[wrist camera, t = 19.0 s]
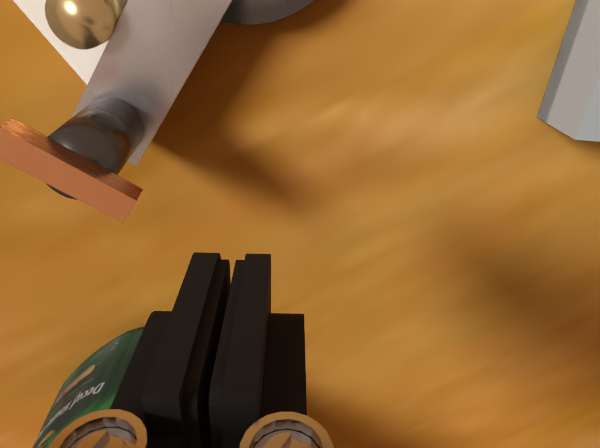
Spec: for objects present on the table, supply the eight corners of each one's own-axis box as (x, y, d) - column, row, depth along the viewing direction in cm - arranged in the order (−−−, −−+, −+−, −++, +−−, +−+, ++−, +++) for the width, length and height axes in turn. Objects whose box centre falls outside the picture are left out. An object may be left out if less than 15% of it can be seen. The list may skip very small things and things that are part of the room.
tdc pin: (128, -18, 17) (105, -15, 15) (132, 39, 18) (112, 51, 16) (71, -24, 17) (39, -21, 15) (79, 35, 18) (50, 46, 16)
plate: (107, -102, 16) (104, -103, 16) (199, 28, 18) (198, 29, 18) (5, -13, 17) (2, -13, 17) (104, 100, 20) (102, 102, 19)
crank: (210, -207, 14) (176, -302, 9) (319, -112, 15) (342, -147, 10) (60, 113, 18) (-20, 171, 13) (154, 166, 20) (114, 238, 15)
